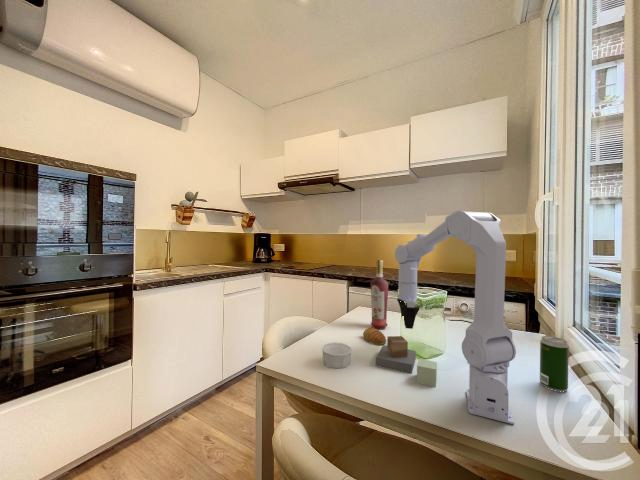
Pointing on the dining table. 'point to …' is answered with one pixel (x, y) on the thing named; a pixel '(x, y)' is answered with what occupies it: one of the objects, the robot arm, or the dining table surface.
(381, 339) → the pastry
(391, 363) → the charcoal slab
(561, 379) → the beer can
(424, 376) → the sage green cube
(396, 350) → the walnut cube
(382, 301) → the liquor
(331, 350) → the ramekin
